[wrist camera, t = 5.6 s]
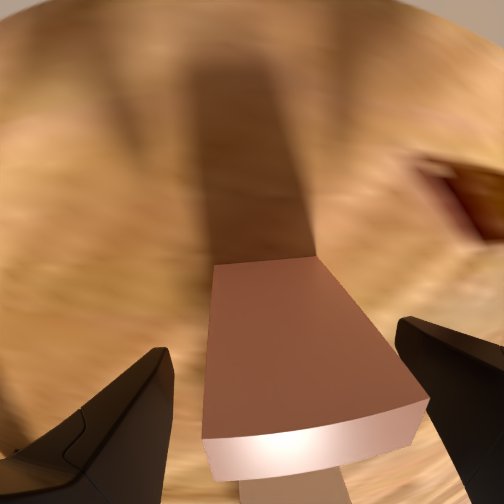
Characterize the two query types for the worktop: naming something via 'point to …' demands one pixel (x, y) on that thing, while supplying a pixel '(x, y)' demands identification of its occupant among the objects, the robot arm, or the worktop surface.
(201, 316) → the worktop surface
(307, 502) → the ivory tile
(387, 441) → the pink rectangular block
